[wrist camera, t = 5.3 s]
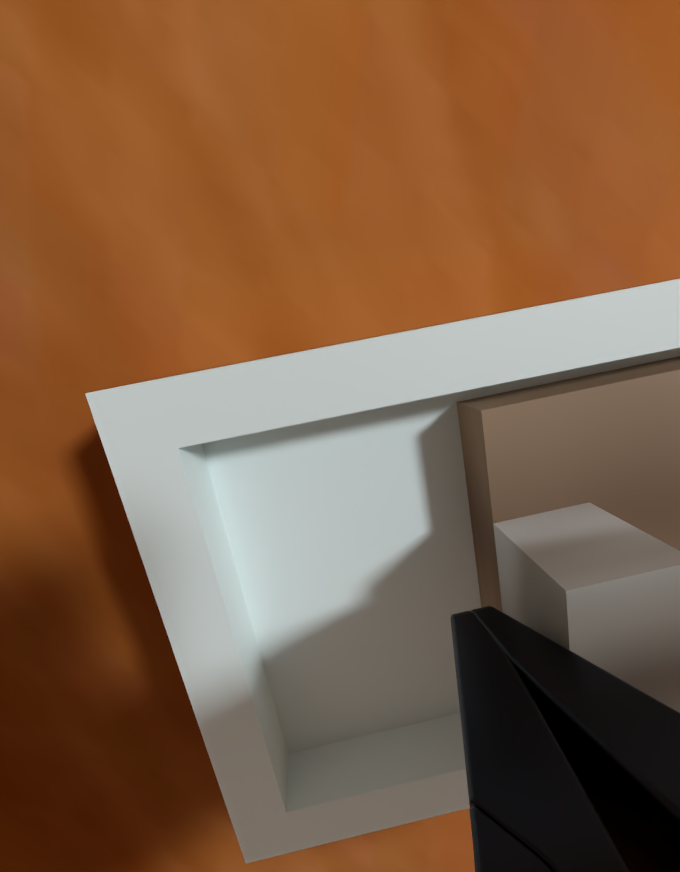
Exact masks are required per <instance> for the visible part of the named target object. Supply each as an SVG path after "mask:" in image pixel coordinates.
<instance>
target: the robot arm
mask: <svg viewBox="0 0 680 872" xmlns="http://www.w3.org/2000/svg"><path fill="white" fill-rule="evenodd" d="M450 620H451V630H452V640H453V649H454V659H455V669H456V679H457V688H458V698H459V708H460V718H461V727H462V737H463V747H464V757H465V766H466V776H467V786H468V796H469V804H470V818H471V828H472V838H473V849H474V863H475V872H680V712H678V711H676V710H674V709H673V708H671V707H669V706H667V705H665V704H664V703H662V702H660V701H658V700H657V699H655V698H653V697H651V696H650V695H648V694H646V693H644V692H643V691H641V690H639V689H637V688H635V687H634V686H632V685H630V684H628V683H627V682H625V681H623V680H621V679H620V678H618V677H616V676H614V675H613V674H611V673H609V672H607V671H605V670H604V669H602V668H600V667H598V666H597V665H595V664H593V663H591V662H590V661H588V660H586V659H584V658H583V657H581V656H579V655H577V654H575V653H574V652H572V651H570V650H568V649H567V648H565V647H563V646H561V645H560V644H558V643H556V642H554V641H553V640H551V639H549V638H547V637H545V636H544V635H542V634H540V633H538V632H537V631H535V630H533V629H531V628H530V627H528V626H526V625H524V624H523V623H521V622H519V621H517V620H515V619H514V618H512V617H510V616H508V615H507V614H505V613H503V612H501V611H500V610H498V609H496V608H494V607H492V606H485V607H481V608H477V609H473V610H471V611H464V612H460V613H455V614H452V615H451V617H450Z"/></svg>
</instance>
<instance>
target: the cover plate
mask: <svg viewBox="0 0 680 872" xmlns="http://www.w3.org/2000/svg"><path fill="white" fill-rule="evenodd" d="M457 410H458V419H459V427H460V435H461V443H462V452H463V460H464V468H465V476H466V485H467V493H468V501H469V509H470V518H471V526H472V534H473V542H474V551H475V559H476V567H477V575H478V584H479V592H480V600H481V607H485V606H492V607H494V608H496V609H498V610H500V611H501V612H503V613H505V614H507V615H508V616H510V617H512V618H514V619H515V620H517V621H519V622H521V623H523V624H524V625H526V626H528V627H530V628H531V629H533V630H535V631H537V632H538V633H540V634H542V635H544V636H545V637H547V638H549V639H551V640H553V641H554V642H556V643H558V644H560V645H561V646H563V647H565V648H567V649H568V650H570V651H572V652H574V653H575V654H577V655H579V656H581V657H583V658H584V659H586V660H588V661H590V662H591V663H593V664H595V665H597V666H598V667H600V668H602V669H604V670H605V671H607V672H609V673H611V674H613V675H614V676H616V677H618V678H620V679H621V680H623V681H625V682H627V683H628V684H630V685H632V686H634V687H635V688H637V689H639V690H641V691H643V692H644V693H646V694H648V695H650V696H651V697H653V698H655V699H657V700H658V701H660V702H662V703H664V704H665V705H667V706H669V707H671V708H673V709H674V710H676V711H678V712H680V356H678V357H673V358H668V359H664V360H659V361H654V362H649V363H644V364H639V365H634V366H629V367H625V368H620V369H615V370H610V371H605V372H600V373H595V374H591V375H586V376H581V377H576V378H571V379H566V380H561V381H557V382H552V383H547V384H542V385H537V386H532V387H527V388H522V389H518V390H513V391H508V392H503V393H498V394H493V395H488V396H484V397H479V398H474V399H469V400H464V401H459V402H457Z"/></svg>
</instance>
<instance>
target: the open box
mask: <svg viewBox="0 0 680 872" xmlns="http://www.w3.org/2000/svg"><path fill="white" fill-rule="evenodd" d="M678 356H680V279H675V280H669V281H664V282H659V283H654V284H649V285H643V286H638V287H633V288H628V289H623V290H617V291H612V292H607V293H602V294H597V295H591V296H586V297H581V298H576V299H571V300H565V301H560V302H555V303H550V304H545V305H539V306H534V307H529V308H524V309H519V310H514V311H508V312H503V313H498V314H493V315H488V316H482V317H477V318H472V319H467V320H462V321H456V322H451V323H446V324H441V325H436V326H430V327H425V328H420V329H415V330H410V331H404V332H399V333H394V334H389V335H384V336H378V337H373V338H368V339H363V340H358V341H353V342H347V343H342V344H337V345H332V346H327V347H321V348H316V349H311V350H306V351H301V352H295V353H290V354H285V355H280V356H275V357H269V358H264V359H259V360H254V361H249V362H243V363H238V364H233V365H228V366H223V367H217V368H212V369H207V370H202V371H197V372H192V373H186V374H181V375H176V376H171V377H166V378H160V379H155V380H150V381H145V382H140V383H135V384H130V385H125V386H120V387H115V388H110V389H105V390H100V391H95V392H90V393H85V395H86V397H87V400H88V403H89V406H90V409H91V412H92V415H93V418H94V421H95V424H96V427H97V430H98V433H99V436H100V438H101V441H102V444H103V447H104V450H105V453H106V456H107V459H108V462H109V465H110V468H111V471H112V474H113V477H114V479H115V482H116V485H117V488H118V491H119V494H120V497H121V500H122V503H123V506H124V509H125V512H126V515H127V518H128V520H129V523H130V526H131V529H132V532H133V535H134V538H135V541H136V544H137V547H138V550H139V553H140V556H141V559H142V561H143V564H144V567H145V570H146V573H147V576H148V579H149V582H150V585H151V588H152V591H153V594H154V597H155V600H156V602H157V605H158V608H159V611H160V614H161V617H162V620H163V623H164V626H165V629H166V632H167V635H168V638H169V640H170V643H171V646H172V649H173V652H174V655H175V658H176V661H177V664H178V667H179V670H180V673H181V676H182V679H183V681H184V684H185V687H186V690H187V693H188V696H189V699H190V702H191V705H192V708H193V711H194V714H195V717H196V720H197V722H198V725H199V728H200V731H201V734H202V737H203V740H204V743H205V746H206V749H207V752H208V755H209V758H210V761H211V763H212V766H213V769H214V772H215V775H216V778H217V781H218V784H219V787H220V790H221V793H222V796H223V799H224V802H225V804H226V807H227V810H228V813H229V816H230V819H231V822H232V825H233V828H234V831H235V834H236V837H237V840H238V843H239V845H240V848H241V851H242V854H243V857H244V860H245V863H250V862H254V861H258V860H262V859H266V858H270V857H274V856H278V855H282V854H286V853H290V852H294V851H298V850H302V849H306V848H310V847H314V846H318V845H322V844H326V843H330V842H334V841H338V840H342V839H346V838H350V837H354V836H358V835H362V834H366V833H370V832H374V831H378V830H382V829H386V828H390V827H394V826H398V825H402V824H406V823H410V822H414V821H418V820H422V819H426V818H431V817H435V816H439V815H443V814H447V813H451V812H455V811H459V810H463V809H467V808H470V804H469V796H468V786H467V776H466V766H465V757H464V747H463V737H462V727H461V718H460V708H459V698H458V688H457V679H456V669H455V659H454V649H453V640H452V630H451V620H450V617H451V615H452V614H455V613H460V612H464V611H471V610H473V609H477V608H481V600H480V592H479V584H478V575H477V567H476V559H475V551H474V542H473V534H472V526H471V518H470V509H469V501H468V493H467V485H466V476H465V468H464V460H463V452H462V443H461V435H460V427H459V419H458V410H457V402H459V401H464V400H469V399H474V398H479V397H484V396H488V395H493V394H498V393H503V392H508V391H513V390H518V389H522V388H527V387H532V386H537V385H542V384H547V383H552V382H557V381H561V380H566V379H571V378H576V377H581V376H586V375H591V374H595V373H600V372H605V371H610V370H615V369H620V368H625V367H629V366H634V365H639V364H644V363H649V362H654V361H659V360H664V359H668V358H673V357H678Z"/></svg>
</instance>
